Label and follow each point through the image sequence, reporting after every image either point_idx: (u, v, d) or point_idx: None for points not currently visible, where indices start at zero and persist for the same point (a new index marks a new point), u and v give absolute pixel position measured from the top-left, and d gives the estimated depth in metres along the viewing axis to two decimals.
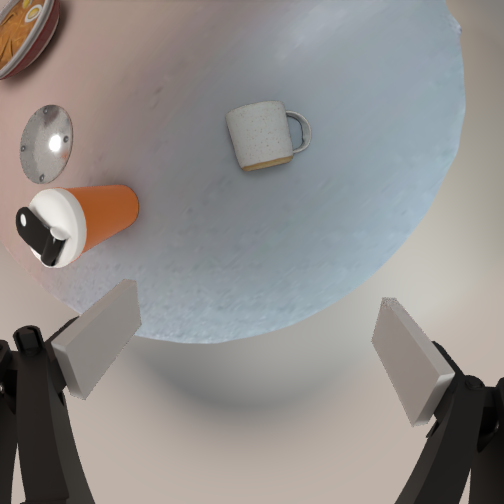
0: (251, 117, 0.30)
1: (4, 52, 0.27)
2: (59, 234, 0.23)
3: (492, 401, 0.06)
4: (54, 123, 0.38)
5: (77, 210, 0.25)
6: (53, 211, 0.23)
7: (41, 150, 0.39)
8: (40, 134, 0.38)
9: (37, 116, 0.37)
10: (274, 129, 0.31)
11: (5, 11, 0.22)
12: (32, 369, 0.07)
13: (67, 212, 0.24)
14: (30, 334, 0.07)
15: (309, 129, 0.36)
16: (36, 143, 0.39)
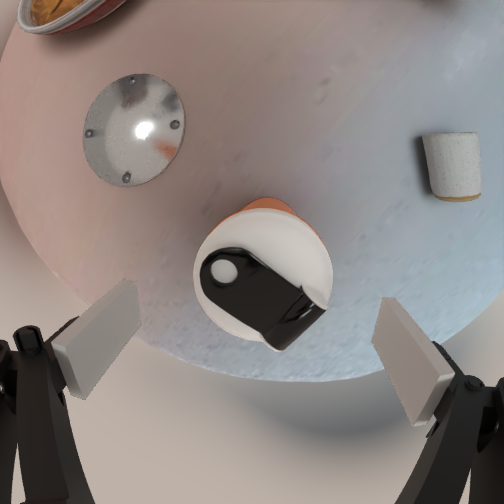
0: (467, 147, 0.22)
1: None
2: (323, 300, 0.16)
3: (492, 400, 0.06)
4: (151, 100, 0.30)
5: None
6: (301, 257, 0.16)
7: (126, 138, 0.31)
8: (123, 114, 0.30)
9: (117, 88, 0.29)
10: (479, 163, 0.23)
11: None
12: (32, 369, 0.07)
13: (324, 259, 0.17)
14: (30, 334, 0.07)
15: None
16: (116, 127, 0.31)
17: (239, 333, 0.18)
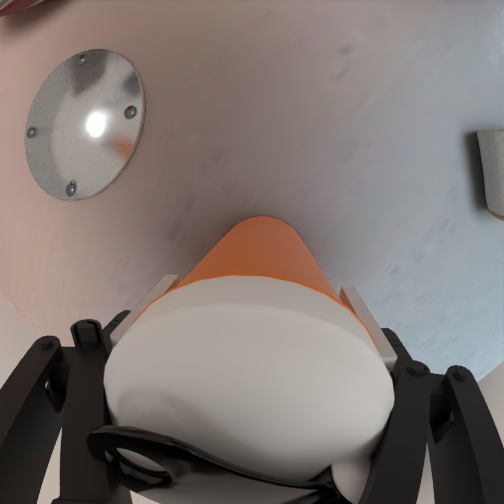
0: None
1: None
2: None
3: (439, 388, 0.07)
4: (102, 81, 0.19)
5: None
6: (338, 422, 0.05)
7: (70, 135, 0.21)
8: (69, 103, 0.20)
9: (64, 71, 0.19)
10: None
11: None
12: (87, 364, 0.08)
13: (385, 402, 0.06)
14: (89, 328, 0.08)
15: None
16: (59, 121, 0.20)
17: None
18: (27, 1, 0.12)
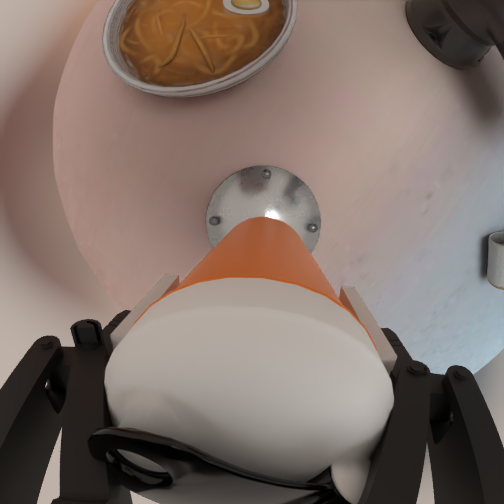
0: None
1: (179, 48, 0.25)
2: None
3: (439, 388, 0.07)
4: (289, 199, 0.36)
5: None
6: (337, 424, 0.05)
7: None
8: (258, 208, 0.37)
9: (248, 178, 0.36)
10: None
11: None
12: (88, 364, 0.08)
13: (384, 404, 0.06)
14: (90, 328, 0.08)
15: None
16: None
17: None
18: None
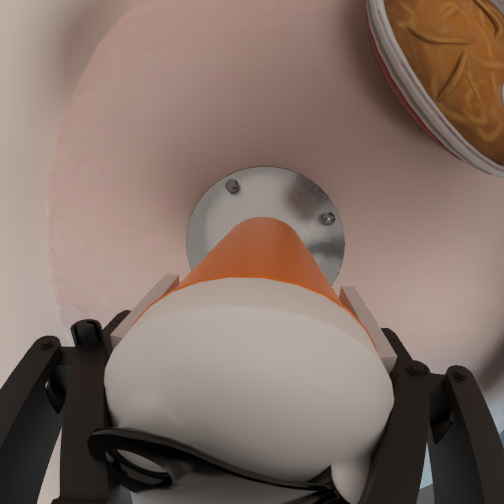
0: None
1: (440, 45, 0.14)
2: None
3: (439, 388, 0.07)
4: None
5: None
6: (337, 424, 0.05)
7: None
8: None
9: (312, 199, 0.25)
10: None
11: None
12: (88, 364, 0.08)
13: (384, 404, 0.06)
14: (89, 328, 0.08)
15: None
16: None
17: None
18: (397, 97, 0.18)
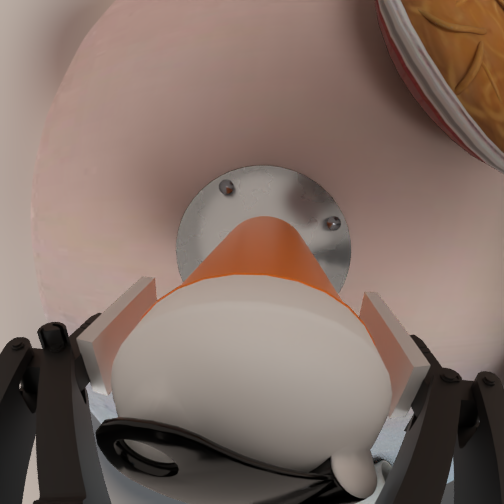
0: None
1: (455, 33, 0.11)
2: (371, 478, 0.05)
3: (470, 394, 0.07)
4: None
5: None
6: (337, 415, 0.05)
7: None
8: None
9: (315, 202, 0.22)
10: None
11: None
12: (56, 366, 0.07)
13: (383, 397, 0.06)
14: (55, 331, 0.08)
15: None
16: None
17: None
18: (410, 88, 0.15)
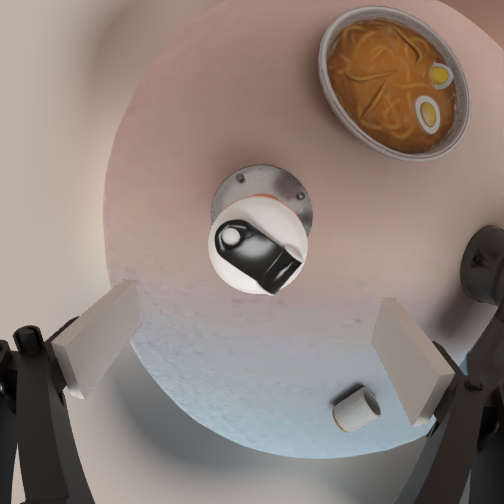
0: (367, 418, 0.44)
1: (366, 81, 0.29)
2: (299, 255, 0.23)
3: (492, 401, 0.06)
4: None
5: None
6: (282, 226, 0.23)
7: None
8: None
9: (289, 184, 0.40)
10: (364, 424, 0.46)
11: (418, 27, 0.25)
12: (32, 369, 0.07)
13: (299, 228, 0.24)
14: (30, 334, 0.07)
15: None
16: None
17: (242, 285, 0.25)
18: None
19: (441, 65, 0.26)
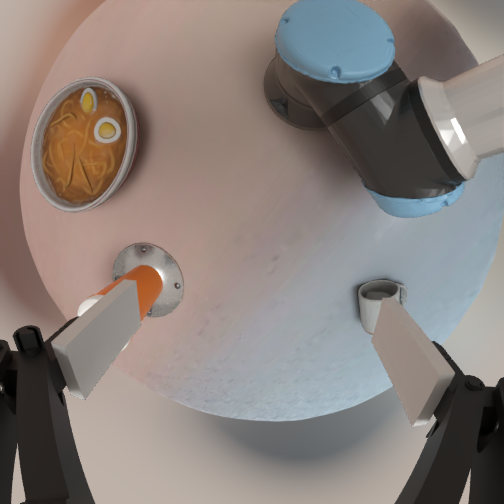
0: None
1: (73, 173, 0.40)
2: None
3: (491, 400, 0.06)
4: (159, 266, 0.51)
5: (100, 297, 0.35)
6: None
7: None
8: None
9: (133, 252, 0.50)
10: None
11: (54, 104, 0.35)
12: (32, 369, 0.07)
13: None
14: (30, 334, 0.07)
15: (406, 294, 0.49)
16: None
17: None
18: None
19: (83, 95, 0.35)
